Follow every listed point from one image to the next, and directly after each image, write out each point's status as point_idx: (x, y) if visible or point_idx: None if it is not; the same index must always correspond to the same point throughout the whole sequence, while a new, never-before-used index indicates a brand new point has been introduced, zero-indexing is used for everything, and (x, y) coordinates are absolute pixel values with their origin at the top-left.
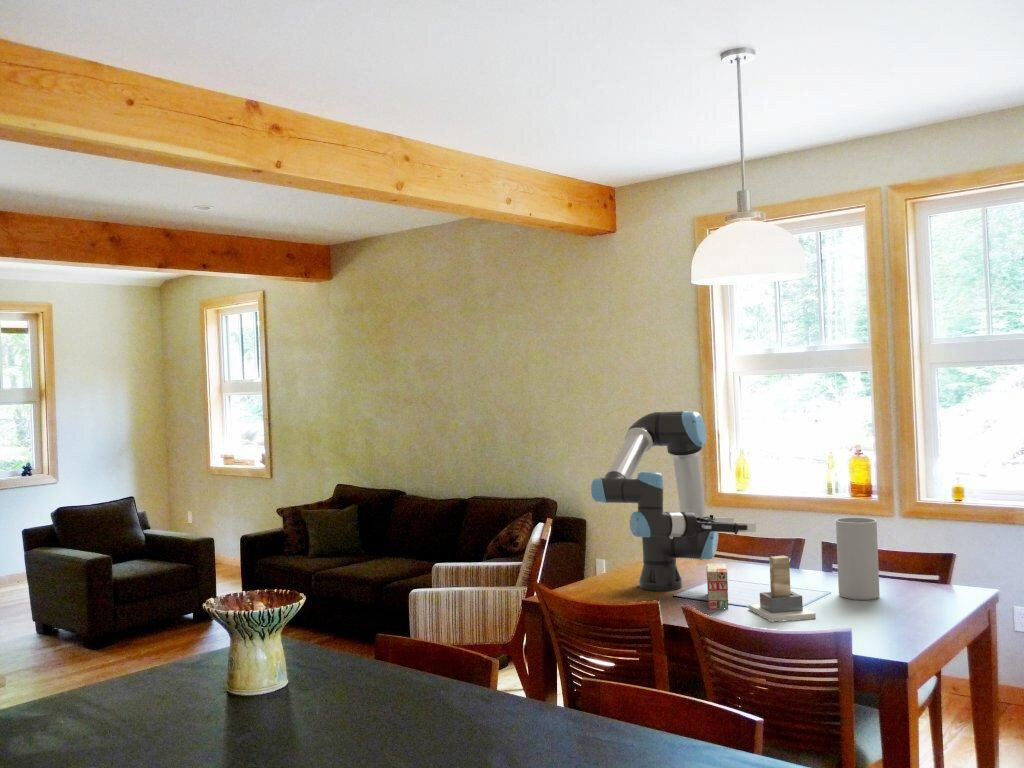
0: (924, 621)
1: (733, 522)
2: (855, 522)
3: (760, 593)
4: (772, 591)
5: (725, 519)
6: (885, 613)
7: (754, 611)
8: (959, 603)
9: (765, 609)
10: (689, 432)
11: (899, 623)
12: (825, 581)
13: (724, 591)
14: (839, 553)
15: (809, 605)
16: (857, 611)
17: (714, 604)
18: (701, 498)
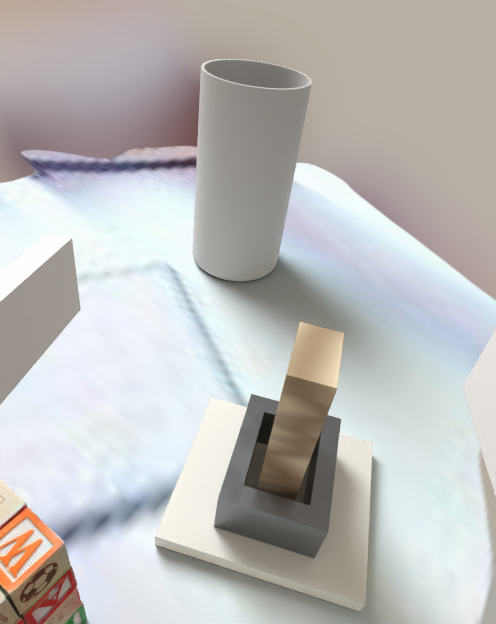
0: (464, 312)
1: (73, 283)
2: (219, 75)
3: (225, 501)
4: (278, 475)
5: (19, 309)
6: (382, 314)
7: (205, 559)
8: (363, 216)
9: (259, 540)
10: None
11: (469, 350)
12: (92, 219)
13: (64, 603)
14: (230, 182)
15: (236, 367)
16: None
17: None
18: None
